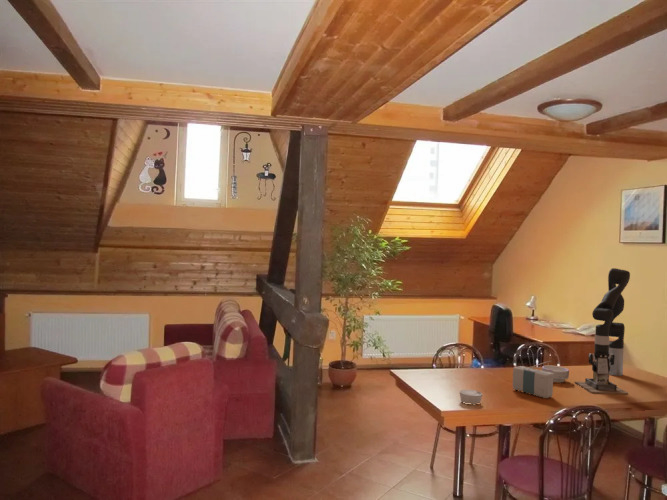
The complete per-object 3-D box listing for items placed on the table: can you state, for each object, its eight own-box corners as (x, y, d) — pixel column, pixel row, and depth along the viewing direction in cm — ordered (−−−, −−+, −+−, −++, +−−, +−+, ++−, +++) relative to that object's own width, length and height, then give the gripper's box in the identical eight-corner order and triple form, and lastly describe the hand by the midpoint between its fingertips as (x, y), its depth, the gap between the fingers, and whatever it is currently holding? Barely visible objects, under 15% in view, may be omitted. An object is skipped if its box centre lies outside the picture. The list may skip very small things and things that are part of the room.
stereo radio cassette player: (511, 390, 299) (512, 354, 299) (520, 388, 304) (521, 353, 304) (545, 400, 282) (546, 362, 282) (554, 397, 287) (555, 360, 287)
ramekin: (485, 406, 268) (485, 395, 268) (463, 406, 268) (463, 395, 268) (477, 399, 280) (477, 389, 280) (456, 399, 279) (456, 389, 279)
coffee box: (609, 387, 303) (610, 358, 302) (596, 386, 304) (597, 357, 304) (604, 383, 312) (605, 355, 311) (592, 382, 313) (593, 354, 313)
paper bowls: (574, 383, 318) (574, 370, 318) (554, 385, 313) (554, 371, 313) (555, 377, 333) (556, 364, 333) (535, 378, 328) (536, 365, 327)
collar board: (574, 383, 319) (574, 376, 319) (608, 384, 319) (608, 377, 319) (591, 393, 297) (592, 386, 297) (628, 394, 297) (628, 387, 297)
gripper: (611, 342, 311) (610, 370, 311) (586, 341, 311) (585, 370, 312) (617, 344, 304) (616, 373, 304) (592, 344, 304) (591, 373, 304)
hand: (601, 371), depth 308 cm, fingers closed on coffee box, 7 cm apart
